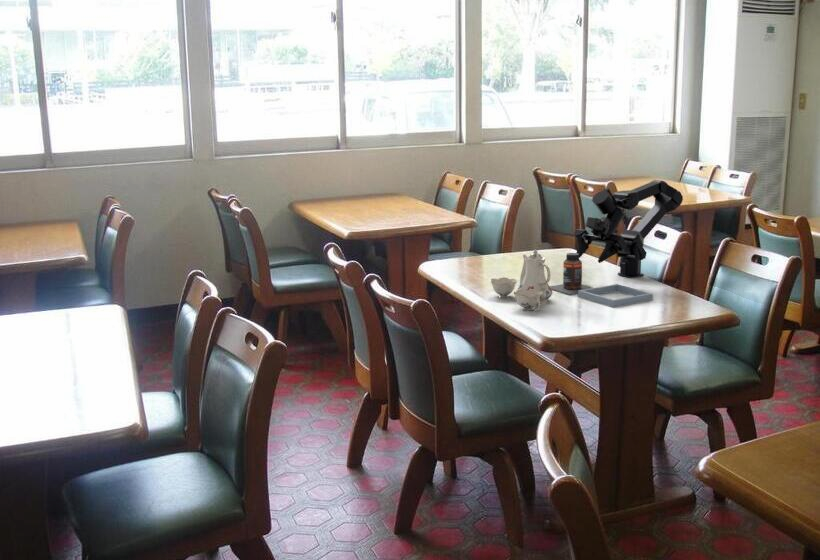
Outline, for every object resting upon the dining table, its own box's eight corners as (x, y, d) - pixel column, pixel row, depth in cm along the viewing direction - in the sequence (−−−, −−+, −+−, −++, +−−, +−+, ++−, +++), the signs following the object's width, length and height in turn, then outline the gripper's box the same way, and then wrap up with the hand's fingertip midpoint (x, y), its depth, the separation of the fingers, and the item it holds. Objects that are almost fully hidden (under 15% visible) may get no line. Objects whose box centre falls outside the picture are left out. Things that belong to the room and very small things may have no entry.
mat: (574, 283, 298) (574, 282, 298) (598, 290, 288) (598, 289, 288) (545, 288, 293) (545, 286, 293) (569, 295, 283) (569, 293, 282)
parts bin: (616, 290, 288) (616, 284, 288) (652, 300, 274) (652, 293, 274) (578, 296, 280) (578, 290, 280) (613, 307, 267) (613, 300, 266)
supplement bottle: (584, 287, 291) (585, 253, 289) (577, 290, 286) (577, 256, 284) (567, 285, 294) (568, 251, 292) (559, 288, 290) (560, 254, 287)
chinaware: (481, 300, 286) (477, 249, 281) (526, 289, 292) (522, 239, 287) (527, 320, 261) (522, 265, 256) (575, 308, 267) (571, 254, 262)
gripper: (577, 205, 300) (554, 241, 296) (622, 210, 286) (599, 249, 282) (591, 225, 307) (569, 261, 302) (636, 231, 293) (614, 269, 288)
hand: (587, 260), depth 293 cm, fingers open, 9 cm apart
